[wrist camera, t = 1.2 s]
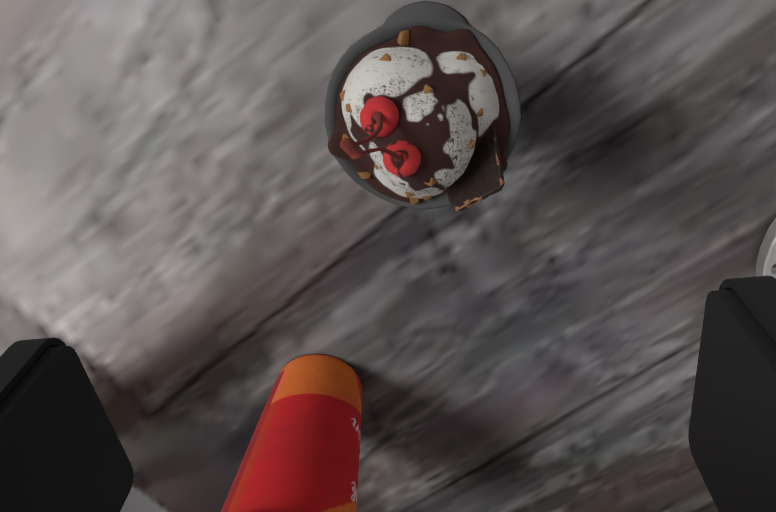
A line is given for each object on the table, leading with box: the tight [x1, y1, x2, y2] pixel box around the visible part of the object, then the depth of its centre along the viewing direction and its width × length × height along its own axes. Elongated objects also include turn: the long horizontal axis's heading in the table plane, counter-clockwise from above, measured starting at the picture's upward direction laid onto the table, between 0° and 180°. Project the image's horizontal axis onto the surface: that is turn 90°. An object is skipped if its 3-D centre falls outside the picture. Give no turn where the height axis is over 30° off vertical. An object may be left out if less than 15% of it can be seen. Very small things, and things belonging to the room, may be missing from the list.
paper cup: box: [221, 354, 362, 512], centre depth 35 cm, size 8×8×14 cm
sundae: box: [325, 1, 521, 211], centre depth 23 cm, size 7×7×15 cm
